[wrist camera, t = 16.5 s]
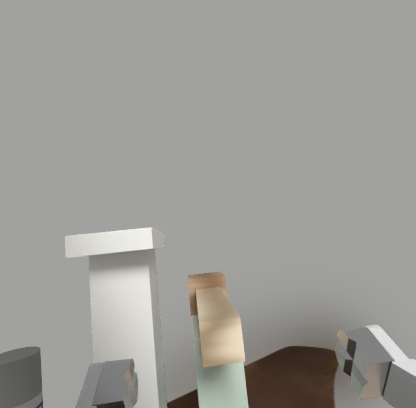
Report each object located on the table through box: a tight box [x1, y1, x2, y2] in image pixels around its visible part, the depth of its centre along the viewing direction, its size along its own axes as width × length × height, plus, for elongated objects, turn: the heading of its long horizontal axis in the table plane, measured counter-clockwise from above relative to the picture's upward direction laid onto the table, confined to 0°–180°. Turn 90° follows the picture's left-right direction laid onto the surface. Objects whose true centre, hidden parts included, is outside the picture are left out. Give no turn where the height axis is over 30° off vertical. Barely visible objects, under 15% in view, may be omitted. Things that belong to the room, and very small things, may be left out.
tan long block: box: [188, 272, 245, 367], centre depth 28 cm, size 4×19×4 cm, turn 4°
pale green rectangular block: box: [193, 315, 248, 408], centre depth 28 cm, size 4×12×16 cm, turn 4°
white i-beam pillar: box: [65, 228, 167, 408], centre depth 30 cm, size 12×12×26 cm
